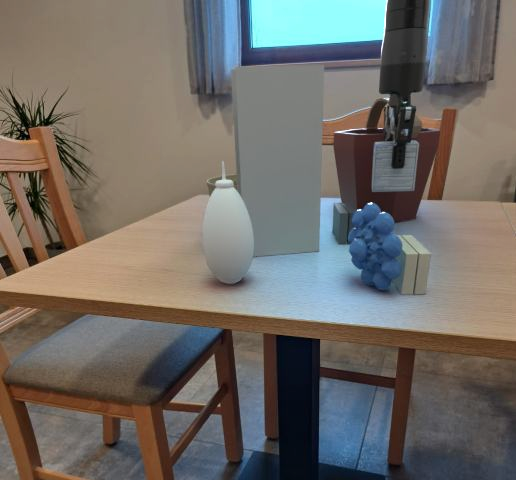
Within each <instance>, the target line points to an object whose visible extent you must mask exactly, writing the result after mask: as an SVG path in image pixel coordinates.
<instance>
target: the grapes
mask: <svg viewBox="0 0 516 480" xmlns="http://www.w3.org/2000/svg"><path fill="white" fill-rule="evenodd" d="M352 224H353V225H354V227H353V228H352V229H351V230H350V232H349V235H348V241H349V243H350V244H349V248H348V253H349V255H350V256H351V263H352V265H353V266H354V267H355V268H356V269H359V270H360V271H361V273H360V278H361V280H362V281H363V283H364V284H365V285H367V286H369V287H376V288H377V289H378V290H380V291H388V289H390V287H391V285H392V283H393V281H392V280H393V279H396V278H397V277H399V275H400V273H401V264H400V262H399V261H398V260H397V259H396V258H395V257H397V256H399V255H400V253H401V251H402V246H403V245H402V241H401V239H400V238H399V237H398V236H397V235H398V234H395V233H393V231H394V229H395V224H396V223H394V220H393V218H392V217H391V215H390V214H388V213H386V212H381V210H380V208H379V207H378V206H377V204H374V203H368V204H367V205H366V206H365V207H364V209H358V210H357V211H356V212H355V213H354V215H353V217H352Z"/></svg>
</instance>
